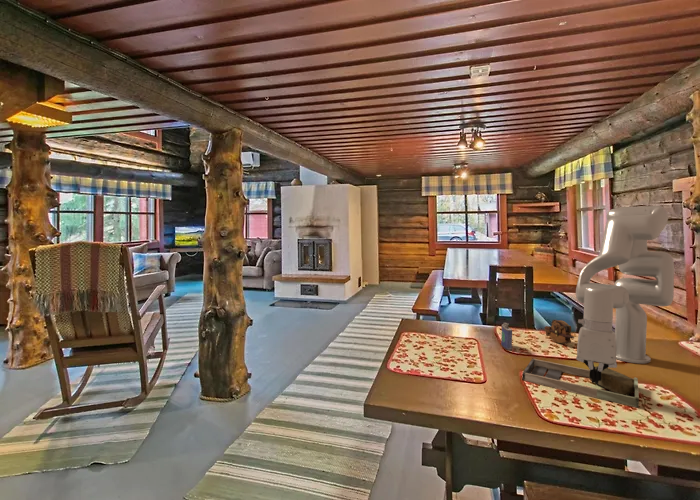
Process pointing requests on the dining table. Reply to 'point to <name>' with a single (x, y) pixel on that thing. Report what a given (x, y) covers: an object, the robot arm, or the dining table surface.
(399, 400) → the dining table surface
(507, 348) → the flask
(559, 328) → the wooden carving
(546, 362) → the box
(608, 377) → the stone block
